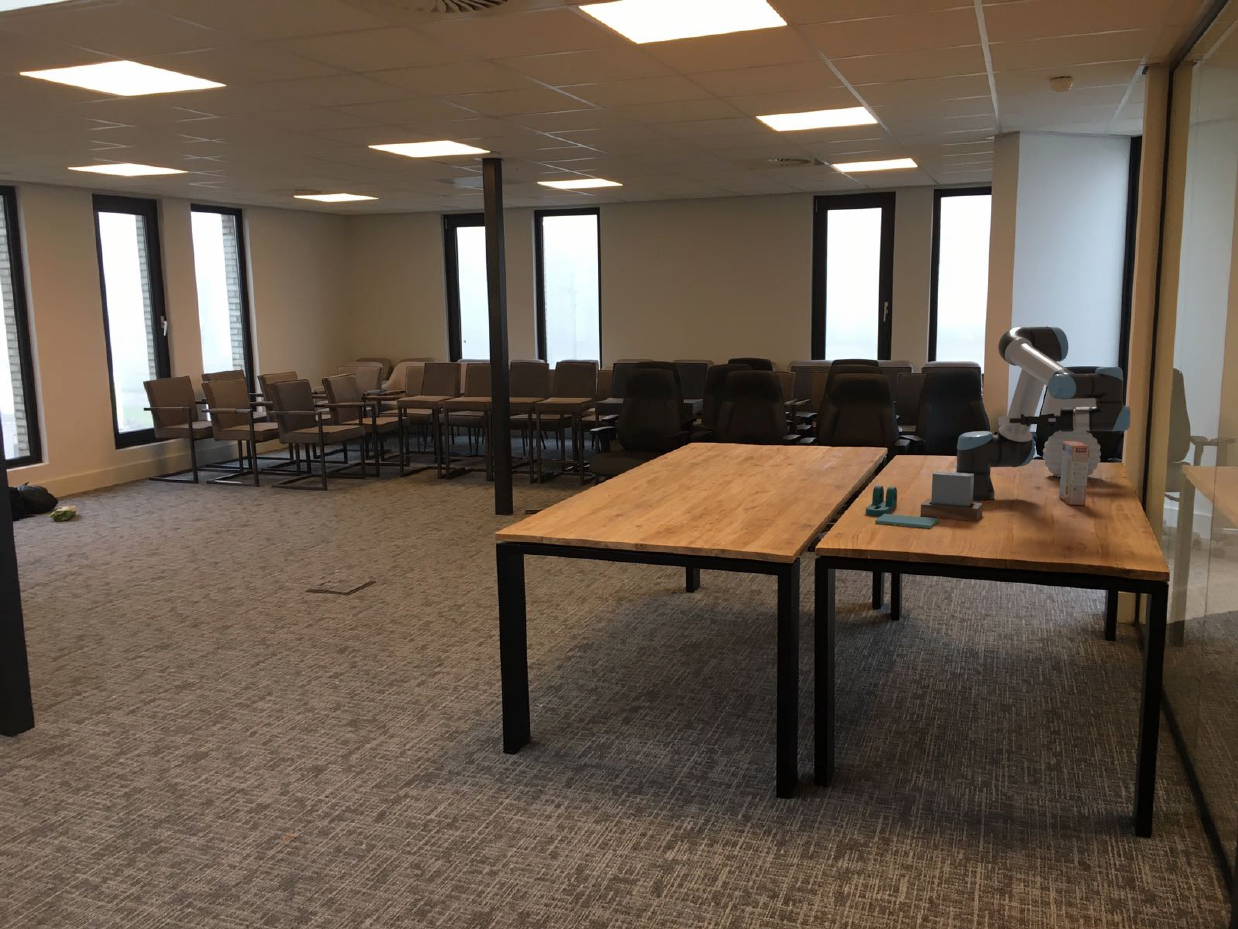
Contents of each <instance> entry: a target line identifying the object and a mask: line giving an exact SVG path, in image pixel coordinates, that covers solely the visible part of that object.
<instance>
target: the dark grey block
mask: <svg viewBox="0 0 1238 929" xmlns="http://www.w3.org/2000/svg"><path fill="white" fill-rule="evenodd" d="M931 478H932V482H931V498H930V499H931V504H935V505H947V506H959V507H971V508H972V505H973V502H974V500H973V485H974V474H968V473H956V472H952V471H951V472H950V471H937V470H936V471H935V472H933V473H932V477H931Z"/></svg>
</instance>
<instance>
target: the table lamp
mask: <svg viewBox="0 0 1238 929" xmlns="http://www.w3.org/2000/svg"><path fill="white" fill-rule="evenodd" d="M1046 389H1047V390H1046V395H1045V397H1044V401H1043V405H1042V409H1041V413H1040V415H1047V414H1054V416H1056V415H1058V416H1060V409H1061V408H1068V407H1072V408H1074V409H1076V407H1096V401H1095V399H1067V400H1063V399H1055V398H1053V397H1051V396H1050V393H1049V392H1048V388H1046ZM1047 439H1048V440H1047V441H1045V443H1044V448H1043V449H1042V452H1043V455H1042V459H1043V460H1044V466H1045V467H1046V468H1047V469H1048V472H1049V473H1051V474H1052V475H1053V476H1054V477H1055V476H1057V477H1056V478H1058V477H1061V465H1062V450H1063V441H1077V442H1081V443H1083V444H1085V445H1087V446H1090V450H1089V462H1088V475H1087V477H1088V476H1090V475H1092V474H1093V473H1094V470H1096V469H1097V468H1098V464H1099V463H1100V462H1101V458H1100V457H1101V455H1102V453H1101V450H1100V449H1101V445H1100V444H1099V443H1098V439H1097V438H1096V437H1093V434H1092V433H1091V432H1089V431H1087V430H1086V433H1083V430H1082V431H1076V430H1075V429H1074V431H1073V432H1062V431H1061V430H1060V429H1059V430H1058V431H1055V432H1054V433H1053V434H1052V435H1050V436H1049V437H1048V438H1047Z"/></svg>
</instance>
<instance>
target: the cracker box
mask: <svg viewBox="0 0 1238 929" xmlns="http://www.w3.org/2000/svg"><path fill="white" fill-rule="evenodd" d="M1089 450H1090V446H1087V445H1085V444H1083V443H1081V442H1077V441H1063V450H1062V465H1061V478H1059V479H1060V481H1059V494H1058V498H1059V499H1060V500H1061V501H1063V502H1064V504H1065V503H1066V504H1067V505H1069V506H1086V500H1087V488H1088V486H1087V485H1088V476H1089V475H1088V462H1089ZM1087 475H1088V476H1087Z"/></svg>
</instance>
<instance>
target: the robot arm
mask: <svg viewBox="0 0 1238 929" xmlns="http://www.w3.org/2000/svg"><path fill="white" fill-rule="evenodd" d="M997 349H998V353H999V356H1000V357H1001V359H1002V360H1003V361H1004V362H1006V363H1008V364H1009V365H1010V366H1015V367H1019V368H1020V369H1021V371H1020V373H1019V376H1018V379H1017V383H1016V387H1015V390H1014V394H1013V396H1012V400H1011V403H1010V407H1009V410H1008V413H1007V416H998V419H997V420H998V424H997V425H998V426H1000V427H999V428H998V431H997V434H993V433H992V432H991V431H989V430H982V431H981V430H979V431H970V432H969V431H968V432H964V433H962V434H960V435H959V436H958V438H957V439H958V440H957V445H956V449H957V450H956V468H955V470H956V472H955V473H968V474H974V485H973V501H984V500H985V501H987V500H993V499H994V498H995V493H996V492H995V489H994V485H993V481H992V477H991V470H992V469H991V468H1009V467H1010V468H1020V467H1024V466H1027V465H1028V464H1030V463H1031V462H1032V460H1033V459H1034V457H1035V454H1036V441H1035V439H1034V438H1033V433H1032V432H1031V428H1032V425H1039V426H1042V427H1043V426H1044V427H1045V426H1046V427H1055V425H1058V424H1059V431H1060V430H1061V431H1062V432H1073V431H1074V429H1075V430H1076V431H1082V430H1083V433H1086V431H1087V432H1118V431H1119V432H1120V431H1128V430H1129V429H1130V428H1131V407H1130V406H1128V405H1124V401H1123V399H1124V398H1123V397H1124V396H1123V395H1124V393H1123V392H1124V372H1123V369H1122V368H1121V367H1119V366H1110V367H1109V366H1107V367H1105V366H1104V367H1103V366H1101V367H1097V368H1096V369H1095V373H1074V372H1073V371H1071V370H1070V369H1068V368H1067V367H1065V366H1064V365H1062V364H1061V363H1060V362H1062V361H1064V360H1065V359H1067V356H1068V353H1069V341H1068V336H1067V335H1066V333H1065V331H1064V330H1063V329H1062V328H1060V327H1057V326H1049V325H1048V326H1047V325H1046V326H1017V327H1013V328H1011V329H1009V330H1007V331H1006V332H1004V333H1003V335H1001V337H1000V339H999V341H998V346H997ZM1044 386H1046V387H1047V389H1048V392H1049V393H1050V396H1051V397H1053V398H1055V399H1063V400H1067V399H1095V401H1096V407H1076V409H1074V408H1072V407H1068V408H1061V409H1060V416H1058V415H1056V416H1054V414H1047V415H1041V414H1039V415H1037V416H1035V415H1036V412H1037V410H1038V409H1037V408H1038V406H1039V404H1040V403H1039V402H1040V400H1041V398H1042V397H1041V396H1042V393H1043V390H1044V388H1045V387H1044Z"/></svg>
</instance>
